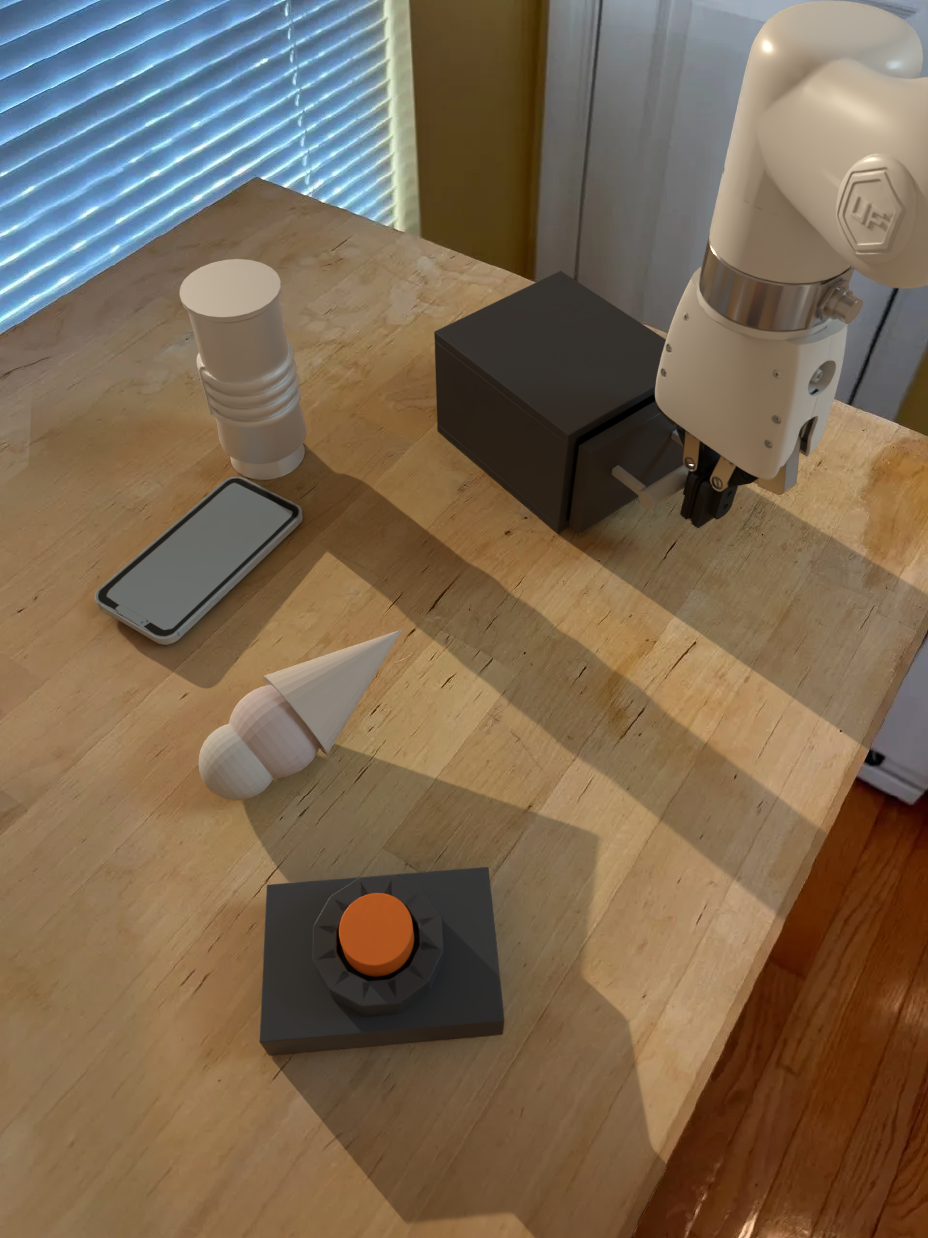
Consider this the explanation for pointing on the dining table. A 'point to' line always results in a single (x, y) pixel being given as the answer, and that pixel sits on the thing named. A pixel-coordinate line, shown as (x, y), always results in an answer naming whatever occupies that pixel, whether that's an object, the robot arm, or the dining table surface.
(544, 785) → the dining table surface
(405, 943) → the button
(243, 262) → the beige ribbed canister
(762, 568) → the dining table surface
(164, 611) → the smartphone
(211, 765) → the ice cream cone
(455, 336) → the cabinet
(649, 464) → the drawer
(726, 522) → the dining table surface
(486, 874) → the control block
